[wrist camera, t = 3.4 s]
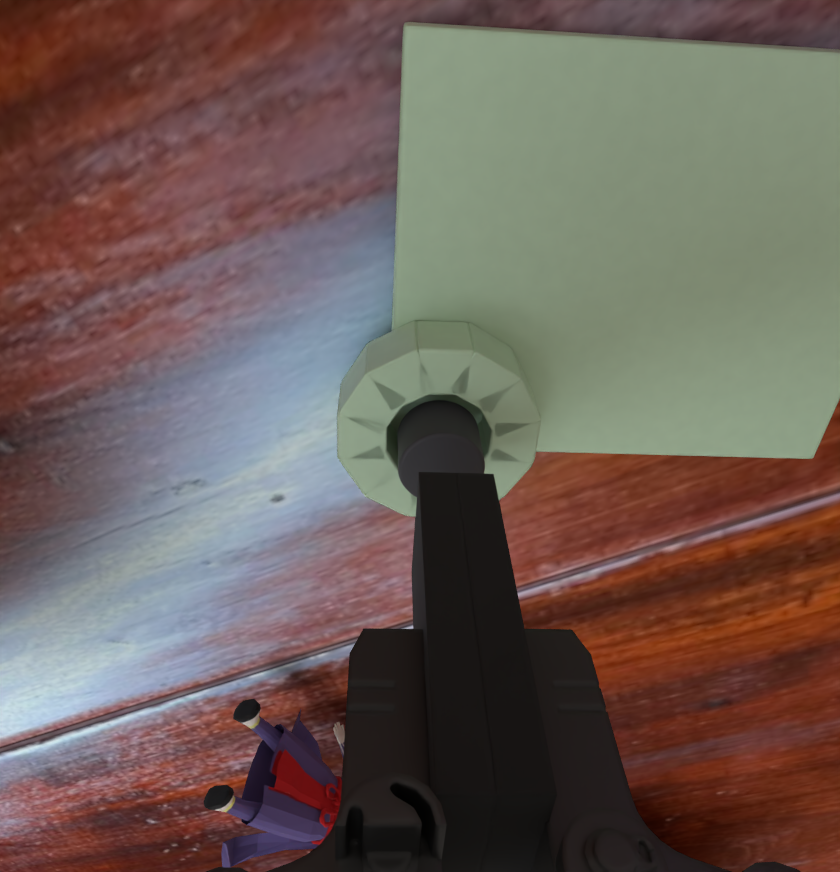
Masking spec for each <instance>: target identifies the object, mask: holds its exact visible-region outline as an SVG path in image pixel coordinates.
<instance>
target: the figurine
mask: <svg viewBox="0 0 840 872" xmlns="http://www.w3.org/2000/svg"><path fill="white" fill-rule="evenodd" d="M259 713H260V704H259V703H258V702H257V701H256V700H255V699H251V700H245V701H243V702H241V703H240V704H239V705H238V707H237V708H236V709H235V712H234V717H233V718H234V719H235V720H237V721H238V722H240V723H242V724H244V725H246V726H248V727H249V728H250V729H252V730H253V731H254V732H255V733H256V734H258V735H259V736H260V737H261V738H262V739H263V740H262V742H261V743H260V745H259V747H258V750H257V753H256V755H255V757H254V759H253V762H252V765H251V768H250V771H249V774H248V777H247V781H246V785H245V788H244V792H243V796H242V799H241V798H238V797H235V796H233V795H234V792H233V789H232V788H231V787H229V786H228V785H221V786H214V787H212V788H210V789H209V791H208V793H207V795H206V797H205V800H204V806H205V807H206V808H208V809H210V810H218V811H223V812H226V813H229V814H231V815H233V816H236V817H238V818H241V819H242V822H243V823H245V824H246V825H249V826H252V827H255V828H258V829H260V830H263V831H266V832H269V833H261V834H254V835H247V836H241V837H235V838H232V839H230V840H228V841H225V842H223V847H222V867H231V866H234V865H236V864H238V863H241V862H243V861H246V860H248V859H250V858H253V857H258V856H262V855H266V854H270V853H274V852H279V851H283V850H298V849H315V848H316V847H317V846H318V845H320V844H321V843H322V841H323V840H324V839H325V837H326V836H327V835H328V834H329V832H330V831H331V829H332V827H333V825H334V823H335V821H336V818H337V815H338V811H339V807H340V802H341V789H342V778H340V777H339V776H334V775H333V773H332V771H331V770H330V768H329V767H328V766H327V765H326V764H325V763H324V762H323V761H322V758H321V754H320V750H319V746H318V743H317V741H316V740H315V739H314V737H313V736H312V735H311V733H310V732H309V731H308V730H307V728H306V727H305V726H304V725H303V724H302V722H301V721H300V713H301V710H300V712H299V715H298V717H297V720H296V722H295V725H294V727H293V730H292V732H290V731H289V730H287V729H286V728H285V727H284V726H282V725H281V724H279V725H276V726H275V727H273V726H272V725H270V724H269V723H268V722H266V721H265V720H264V719H262V718H261V717H260V716H259ZM334 725H335V728H334V727H333V730H334V733H335V736H336V738H337V741H338V743H339V746H340V749H341V753H342V756H344V739H345V730H344V726H343V725H341V726H340V722H338V723H337V726H336V724H334Z"/></svg>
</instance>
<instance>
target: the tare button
mask: <svg viewBox="0 0 840 872" xmlns="http://www.w3.org/2000/svg"><path fill="white" fill-rule="evenodd" d="M397 443H398V474H399V478H400V481H401V482H402V484H403V486H404V487H405V488H406V489H407V490H408V491H409V492H410V493H411V494H412V495H413V496H415V497H417V489H418V475H419V472H443V473H480V474H484V471H485V461H484V455H483V450H482V445H481V439H480V434H479V429H478V425H477V422H476V420H475V418H474V417H473V415H472V414H471V413H470V412H469V411H468V410H467V409H466V408H464V407H463V406H461V405H459V404H457V403H454V402H451V401H446V400H433V401H428V402H424V403H422V404H419V405H417V406H416V407H414V408H413V409H411V410H410V411H409V412H408V413H407V414H406V415H405V416H404V418H403V419H402V421H401V423H400V425H399V428H398V433H397Z"/></svg>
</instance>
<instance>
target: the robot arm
mask: <svg viewBox="0 0 840 872" xmlns="http://www.w3.org/2000/svg"><path fill="white" fill-rule="evenodd" d="M412 595H413V626H414V629H363V631H362V632H361V634H360V636H359V638H358V640H357V641H356V643H355V645H354V647H353V649H352V650H351V652H350V657H349V674H348V690H347V708H346V723H345V739H344V756H343V772H342V789H341V802H340V807H339V811H338V815H337V818H336V821H335V823H334V825H333V827H332V829H331V831H330V832H329V834H328V835H327V836H326V837H325V839H324V840H323V841H322V843H321V844H320V845H318V846H317V847H316V848H315V849H314V850H312V851H311V852H310V853H309V854H307V855H305V856H303V857H301V858H299V859H297V860H295V861H293V862H291V863H288V864H286V865H283V866H280V867H278V868H275V869H272V870H269V871H267V872H731V871H728V870H725V869H722V868H719V867H716V866H713V865H710V864H708V863H705V862H702V861H699V860H696V859H693V858H690V857H688V856H686V855H684V854H682V853H679V852H677V851H675V850H674V849H672V848H671V847H669V846H668V845H667V844H665V843H664V842H662V841H661V840H660V839H659V838H658V837H657V836H656V835H655V834H654V833H653V832H652V831H651V830H650V829H649V828H648V827H647V826H646V824H645V823H644V821H643V820H642V818H641V817H640V815H639V814H638V812H637V809H636V807H635V804H634V802H633V799H632V796H631V793H630V790H629V786H628V783H627V779H626V776H625V772H624V769H623V765H622V762H621V758H620V755H619V751H618V748H617V744H616V741H615V737H614V734H613V730H612V727H611V723H610V720H609V716H608V713H607V712H606V710H605V707H606V706H605V702H604V699H603V695H602V692H601V689H600V688H599V681H598V678H597V674H596V671H595V668H594V664H593V661H592V657H591V654H590V653H589V652H588V650H587V649H586V648H585V646H584V645H583V644H582V642H581V641H580V640H579V639H578V637H577V636H576V635H575V633H574V632H573V631H572V630H561V629H524V624H523V619H522V614H521V609H520V604H519V599H518V594H517V589H516V584H515V579H514V574H513V569H512V564H511V559H510V554H509V549H508V544H507V539H506V534H505V529H504V524H503V519H502V514H501V509H500V504H499V498H498V493H497V488H496V483H495V478H494V474H480V473H443V472H419V475H418V489H417V504H416V518H415V532H414V547H413V561H412ZM207 872H247V871H245V870H243V869H241V868H231V867H218V868H215V869H212V870H209V871H207ZM742 872H800V871H799V870H797V869H795V868H792V867H789V866H786V865H783V864H780V863H777V862H762V863H755V864H753V865H752V866H750V867H749V868H747V869H745V870H744V871H742Z"/></svg>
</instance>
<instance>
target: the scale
mask: <svg viewBox="0 0 840 872" xmlns="http://www.w3.org/2000/svg"><path fill="white" fill-rule="evenodd" d="M839 399H840V49H827V48H811V47H795V46H780V45H764V44H748V43H732V42H717V41H701V40H685V39H669V38H654V37H638V36H622V35H606V34H591V33H575V32H559V31H543V30H528V29H512V28H496V27H480V26H465V25H449V24H433V23H418V22H406V23H404V26H403V41H402V67H401V93H400V119H399V145H398V172H397V198H396V224H395V250H394V276H393V302H392V328H391V332H389V333H387V334H385V335H383V336H381V337H378V338H376V339H374V340H372V341H370V342H369V343H367V344H366V346H365V347H364V349H363V350H362V351H361V353H360V354H359V356H358V357H357V359H356V360H355V362H354V363H353V365H352V366H351V368H350V369H349V371H348V372H347V374H346V375H345V377H344V378H343V380H342V382H341V386H340V395H339V404H338V412H337V457H338V459H339V460H340V462H341V463H342V465H343V466H344V468H345V469H346V470H347V472H348V473H349V475H350V476H351V478H352V479H353V480H354V482H355V483H356V485H357V486H358V487H359V489H360V490H361V492H362V493H363V494H365V497H367V498H369V499H371V500H373V501H375V502H377V503H379V504H381V505H384V506H386V507H388V508H390V509H392V510H394V511H396V512H398V513H400V514H402V515H405V516H407V515H408V516H411V517H416V504H417V497H415V496H413V495H412V494H411V493H410V492H409V491H408V490H407V489H406V488H405V487H404V486H403V484H402V482H401V481H400V478H399V474H398V443H397V433H398V428H399V425H400V423H401V421H402V419H403V418H404V416H405V415H406V414H407V413H408V412H409V411H410V410H411V409H413V408H414V407H416V406H417V405H419V404H422V403H424V402H428V401H433V400H446V401H451V402H454V403H457V404H459V405H461V406H463V407H464V408H466V409H467V410H468V411H469V412H470V413H471V414H472V415H473V417H474V418H475V420H476V422H477V425H478V429H479V434H480V439H481V445H482V450H483V455H484V461H485V471H484V474H494V478H495V483H496V488H497V493H498V498H499V500H500V499H501V498H503V497H504V496H505V495H506V494H507V493H508V492H509V491H510V490H511V489H512V487H513V486H514V485H515V484H516V483H517V482H518V481H519V480H520V479H521V477H522V476H523V475H524V474H525V473H526V472H527V471H528V470H529V469H530V467H531V466H532V464H533V462H534V459H535V454H536V452H571V453H608V454H646V455H684V456H722V457H759V458H797V459H812V458H813V457H814V455H815V453H816V451H817V448H818V446H819V444H820V442H821V439H822V437H823V435H824V433H825V430H826V428H827V426H828V424H829V421H830V419H831V417H832V415H833V412H834V410H835V408H836V406H837V404H838V401H839Z"/></svg>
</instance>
